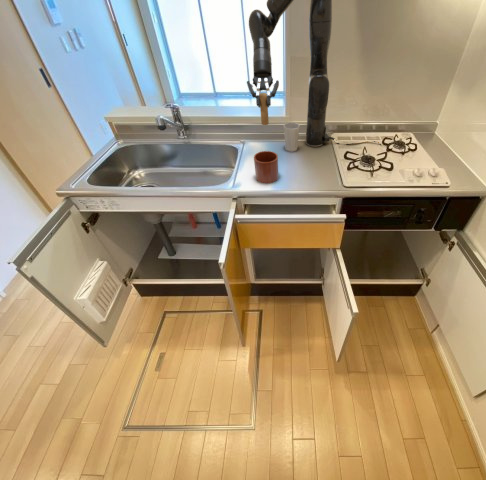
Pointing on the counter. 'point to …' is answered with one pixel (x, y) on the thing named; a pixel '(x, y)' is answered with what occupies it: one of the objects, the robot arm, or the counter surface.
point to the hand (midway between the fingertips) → (263, 106)
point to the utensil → (264, 109)
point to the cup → (291, 136)
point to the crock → (266, 166)
